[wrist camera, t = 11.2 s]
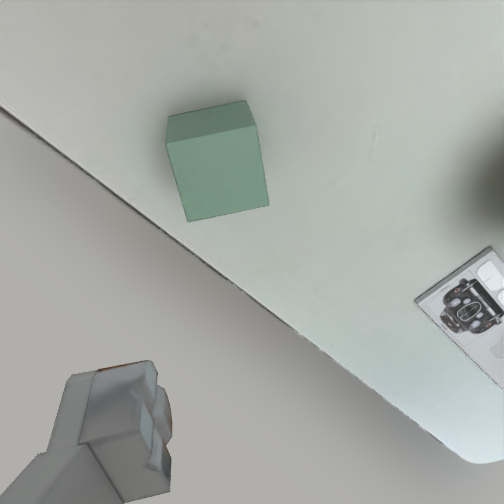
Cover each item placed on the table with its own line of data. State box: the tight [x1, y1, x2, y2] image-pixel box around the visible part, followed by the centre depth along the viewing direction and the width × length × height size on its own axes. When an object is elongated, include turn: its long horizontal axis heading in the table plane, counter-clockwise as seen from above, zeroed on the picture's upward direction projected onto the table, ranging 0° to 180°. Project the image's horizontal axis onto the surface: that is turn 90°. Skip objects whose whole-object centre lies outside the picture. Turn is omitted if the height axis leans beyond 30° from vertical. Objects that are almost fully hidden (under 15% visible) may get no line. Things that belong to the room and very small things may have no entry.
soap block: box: [165, 101, 269, 222], centre depth 25 cm, size 4×4×4 cm
